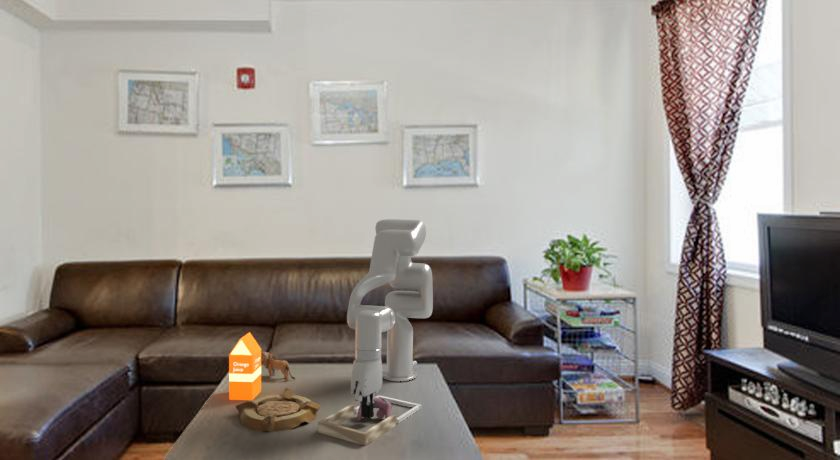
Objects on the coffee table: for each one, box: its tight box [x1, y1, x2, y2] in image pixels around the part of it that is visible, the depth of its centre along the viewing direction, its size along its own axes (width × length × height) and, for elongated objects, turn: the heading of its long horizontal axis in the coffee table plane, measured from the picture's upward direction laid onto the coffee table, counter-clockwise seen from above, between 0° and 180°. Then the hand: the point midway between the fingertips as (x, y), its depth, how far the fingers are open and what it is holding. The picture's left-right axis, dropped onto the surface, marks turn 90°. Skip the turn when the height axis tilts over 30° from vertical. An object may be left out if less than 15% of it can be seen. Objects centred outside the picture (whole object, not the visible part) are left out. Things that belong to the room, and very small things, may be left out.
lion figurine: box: [261, 351, 296, 382], centre depth 196 cm, size 15×5×9 cm, turn 71°
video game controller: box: [357, 398, 393, 422], centre depth 161 cm, size 10×5×7 cm, turn 82°
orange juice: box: [228, 331, 262, 401], centre depth 178 cm, size 8×9×20 cm
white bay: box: [354, 394, 422, 424], centre depth 167 cm, size 14×16×1 cm
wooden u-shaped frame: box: [317, 403, 397, 447], centre depth 153 cm, size 15×16×3 cm
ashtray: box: [235, 387, 321, 433], centre depth 162 cm, size 24×24×5 cm
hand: (367, 416), depth 157 cm, fingers closed
